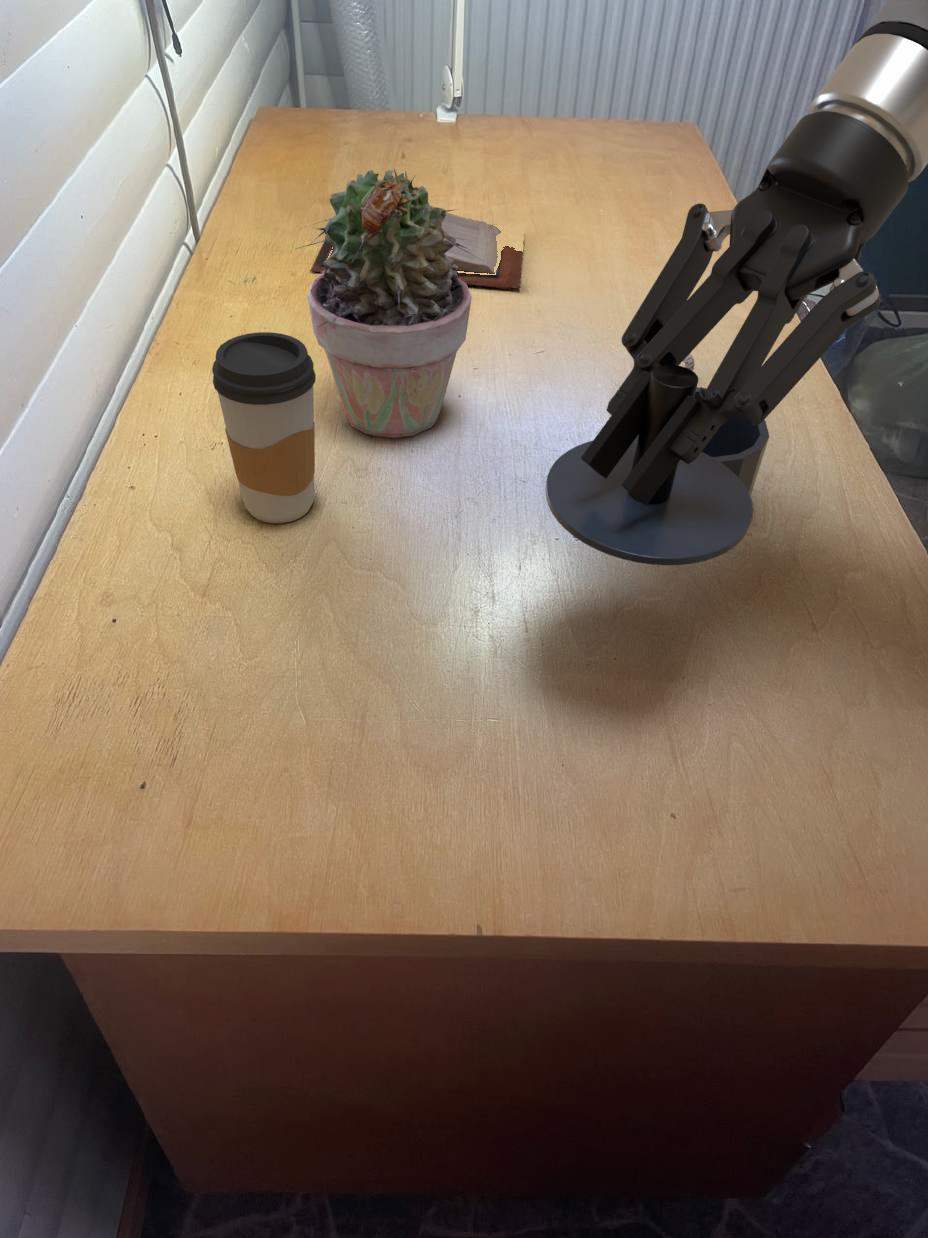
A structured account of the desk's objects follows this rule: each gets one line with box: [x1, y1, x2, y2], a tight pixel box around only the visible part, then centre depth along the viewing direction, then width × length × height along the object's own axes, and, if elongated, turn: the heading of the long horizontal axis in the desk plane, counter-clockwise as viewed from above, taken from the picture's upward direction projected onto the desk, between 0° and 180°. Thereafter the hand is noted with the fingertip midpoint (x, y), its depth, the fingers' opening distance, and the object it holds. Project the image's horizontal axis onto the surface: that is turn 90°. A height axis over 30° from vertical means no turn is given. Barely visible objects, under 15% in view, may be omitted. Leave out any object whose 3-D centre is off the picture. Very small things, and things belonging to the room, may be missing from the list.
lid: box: [544, 365, 754, 566], centre depth 58 cm, size 14×14×10 cm
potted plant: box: [295, 168, 481, 439], centre depth 88 cm, size 18×20×25 cm
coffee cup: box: [211, 331, 317, 524], centre depth 79 cm, size 8×8×15 cm
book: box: [309, 212, 525, 291], centre depth 125 cm, size 20×28×4 cm
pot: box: [638, 386, 770, 497], centre depth 84 cm, size 13×18×8 cm
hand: (613, 481), depth 57 cm, fingers closed on lid, 3 cm apart
